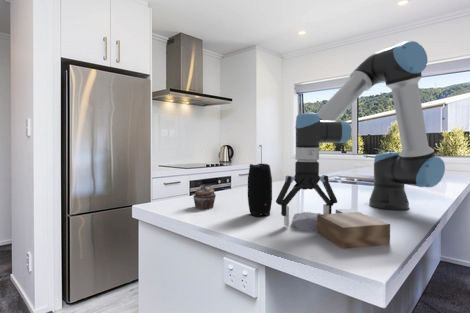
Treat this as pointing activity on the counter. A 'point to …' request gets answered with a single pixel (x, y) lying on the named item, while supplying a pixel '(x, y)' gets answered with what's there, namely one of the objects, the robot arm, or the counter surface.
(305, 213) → the stone block
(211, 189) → the cupcake
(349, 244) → the walnut block
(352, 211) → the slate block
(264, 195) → the portable speaker
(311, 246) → the counter surface
